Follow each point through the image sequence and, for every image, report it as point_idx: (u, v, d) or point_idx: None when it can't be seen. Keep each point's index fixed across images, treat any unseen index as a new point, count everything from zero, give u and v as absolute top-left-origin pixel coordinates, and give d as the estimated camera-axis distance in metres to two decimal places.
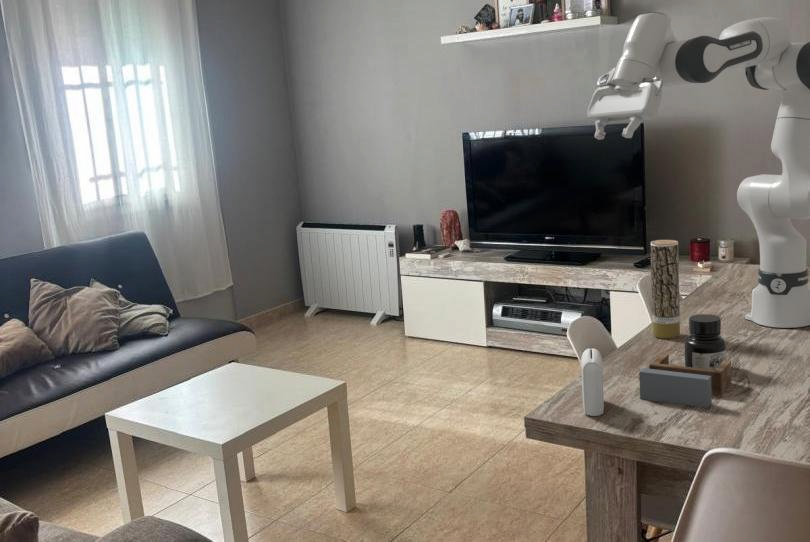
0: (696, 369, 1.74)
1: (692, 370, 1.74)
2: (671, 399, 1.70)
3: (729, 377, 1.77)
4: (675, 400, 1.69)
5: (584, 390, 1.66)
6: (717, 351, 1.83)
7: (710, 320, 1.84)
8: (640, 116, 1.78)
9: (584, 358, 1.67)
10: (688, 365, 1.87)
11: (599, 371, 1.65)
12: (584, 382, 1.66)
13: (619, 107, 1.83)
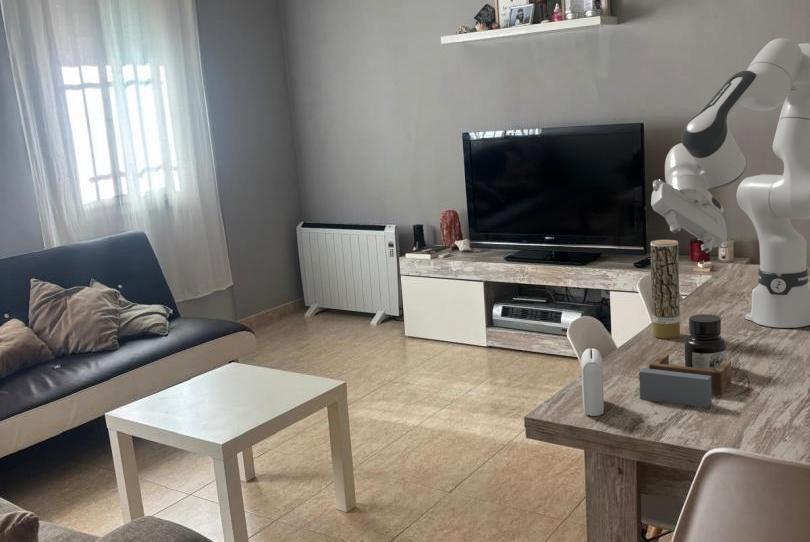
0: (696, 369, 1.74)
1: (692, 370, 1.74)
2: (671, 399, 1.70)
3: (729, 377, 1.77)
4: (675, 400, 1.69)
5: (584, 390, 1.66)
6: (717, 351, 1.83)
7: (710, 320, 1.84)
8: (665, 211, 1.82)
9: (584, 358, 1.67)
10: (688, 365, 1.87)
11: (599, 371, 1.65)
12: (584, 382, 1.66)
13: None
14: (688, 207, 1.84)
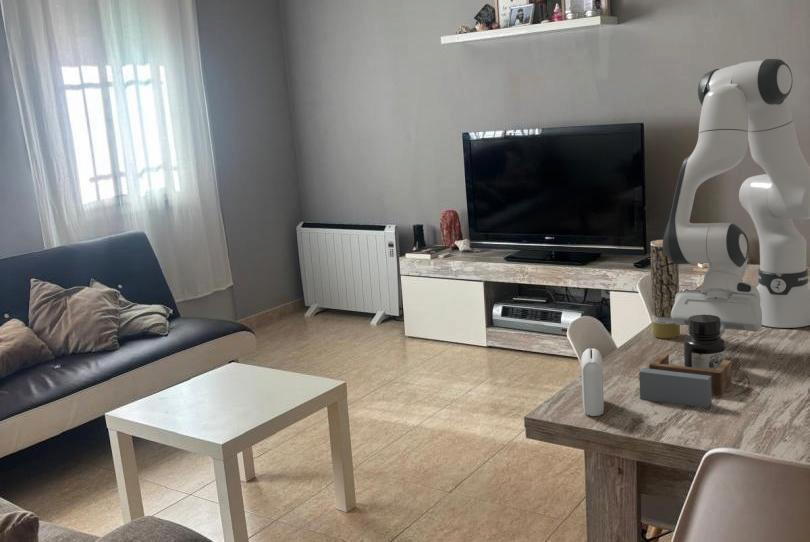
0: (696, 369, 1.74)
1: (692, 370, 1.74)
2: (671, 399, 1.70)
3: (729, 377, 1.77)
4: (675, 400, 1.69)
5: (584, 390, 1.66)
6: (716, 351, 1.83)
7: (709, 320, 1.84)
8: (682, 322, 1.97)
9: (584, 358, 1.67)
10: (687, 365, 1.87)
11: (599, 371, 1.65)
12: (584, 382, 1.66)
13: None
14: (706, 308, 1.94)
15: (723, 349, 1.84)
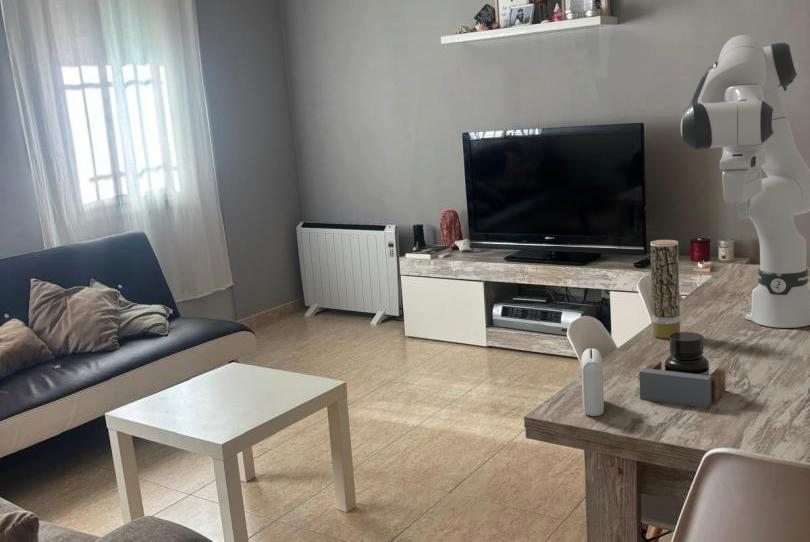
0: None
1: None
2: (671, 399, 1.70)
3: (723, 384, 1.73)
4: (675, 400, 1.69)
5: (584, 390, 1.66)
6: (700, 372, 1.71)
7: (692, 339, 1.72)
8: None
9: (584, 358, 1.67)
10: None
11: (599, 371, 1.65)
12: (584, 382, 1.66)
13: (753, 189, 1.86)
14: None
15: (707, 369, 1.72)
